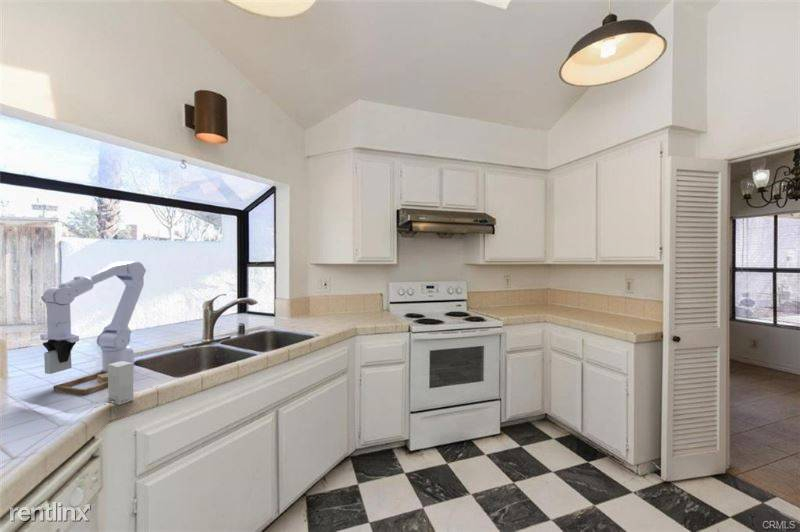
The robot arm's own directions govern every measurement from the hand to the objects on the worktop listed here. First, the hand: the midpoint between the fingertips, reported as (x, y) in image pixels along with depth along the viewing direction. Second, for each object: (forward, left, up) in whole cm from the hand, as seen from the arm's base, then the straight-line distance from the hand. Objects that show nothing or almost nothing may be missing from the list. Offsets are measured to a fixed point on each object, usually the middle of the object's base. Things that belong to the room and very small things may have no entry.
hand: (60, 361), depth 117 cm
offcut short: (-6, +11, -8) cm, 15 cm away
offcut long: (-7, +11, -10) cm, 16 cm away
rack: (-3, +11, -9) cm, 15 cm away
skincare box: (+3, +30, -10) cm, 32 cm away
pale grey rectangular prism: (+1, 0, -3) cm, 3 cm away
